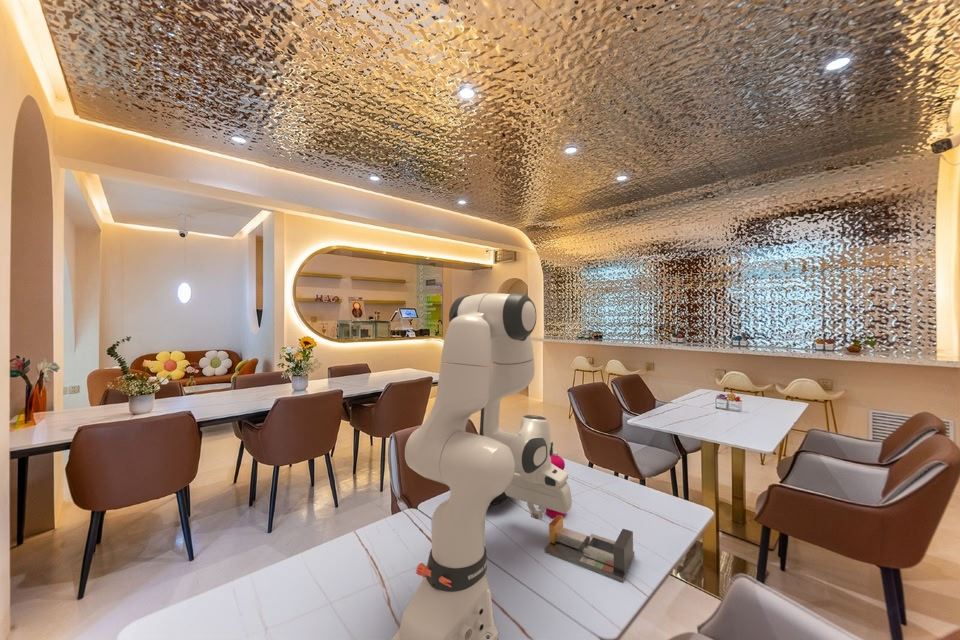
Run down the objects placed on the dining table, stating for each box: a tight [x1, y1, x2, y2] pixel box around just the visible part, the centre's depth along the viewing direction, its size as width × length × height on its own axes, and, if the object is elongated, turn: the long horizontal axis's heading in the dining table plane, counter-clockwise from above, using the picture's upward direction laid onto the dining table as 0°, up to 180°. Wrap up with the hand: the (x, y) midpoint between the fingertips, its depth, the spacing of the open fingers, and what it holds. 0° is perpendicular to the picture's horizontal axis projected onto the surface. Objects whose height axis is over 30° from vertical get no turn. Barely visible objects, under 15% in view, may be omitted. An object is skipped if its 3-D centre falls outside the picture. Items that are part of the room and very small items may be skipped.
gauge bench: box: [544, 528, 635, 583], centre depth 97 cm, size 12×20×7 cm, turn 55°
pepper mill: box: [545, 450, 567, 519], centre depth 117 cm, size 7×7×20 cm
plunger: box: [548, 515, 593, 552], centre depth 98 cm, size 9×11×5 cm
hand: (536, 518), depth 106 cm, fingers closed
